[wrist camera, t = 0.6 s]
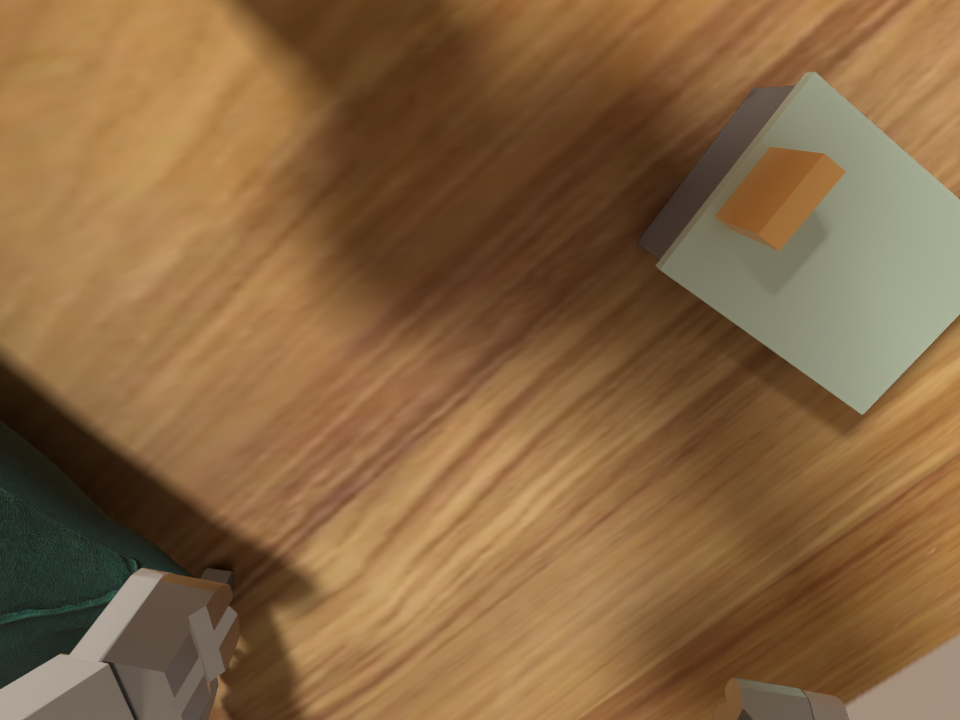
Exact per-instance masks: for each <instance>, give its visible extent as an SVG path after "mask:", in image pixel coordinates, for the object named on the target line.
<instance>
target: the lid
mask: <svg viewBox="0 0 960 720" xmlns="http://www.w3.org/2000/svg"><path fill="white" fill-rule="evenodd" d="M655 267H657V268H658V269H659V270H661V271H662V272H663V273H665V274H666V275H668V276H669V277H670V278H672V279H673V280H674V281H676V282H677V283H679V284H680V285H681V286H683V287H684V288H686V289H687V290H688V291H690V292H691V293H693V294H694V295H695V296H697V297H698V298H700V299H701V300H702V301H704V302H705V303H707V304H708V305H709V306H711V307H712V308H714V309H715V310H716V311H718V312H719V313H721V314H722V315H723V316H725V317H726V318H728V319H729V320H730V321H732V322H733V323H734V324H736V325H737V326H739V327H740V328H741V329H743V330H744V331H746V332H747V333H748V334H750V335H751V336H753V337H754V338H755V339H757V340H758V341H760V342H761V343H762V344H764V345H765V346H767V347H768V348H769V349H771V350H772V351H774V352H775V353H776V354H778V355H779V356H781V357H782V358H783V359H785V360H786V361H788V362H789V363H790V364H792V365H793V366H795V367H796V368H797V369H799V370H800V371H801V372H803V373H804V374H806V375H807V376H808V377H810V378H811V379H813V380H814V381H815V382H817V383H818V384H820V385H821V386H822V387H824V388H825V389H827V390H828V391H829V392H831V393H832V394H834V395H835V396H836V397H838V398H839V399H841V400H842V401H843V402H845V403H846V404H848V405H849V406H850V407H852V408H853V409H855V410H856V411H857V412H859V413H860V414H861V415H863V414H864V413H865V412H866V411H867V410H868V409H869V408H870V407H871V406H872V405H873V404H874V403H875V402H876V401H877V400H878V399H879V397H880V396H881V395H882V394H883V393H884V392H885V391H886V390H887V389H888V388H889V387H890V386H891V385H892V384H893V383H894V382H895V381H896V380H897V379H898V378H899V377H900V376H901V375H902V374H903V373H904V372H905V371H906V369H907V368H908V367H909V366H910V365H911V364H912V363H913V362H914V361H915V360H916V359H917V358H918V357H919V356H920V355H921V354H922V353H923V352H924V351H925V350H926V349H927V348H928V347H929V346H930V345H931V344H932V343H933V342H934V340H935V339H936V338H937V337H938V336H939V335H940V334H941V333H942V332H943V331H944V330H945V329H946V328H947V327H948V326H949V325H950V324H951V323H952V322H953V321H954V320H955V319H956V318H957V317H958V316H959V315H960V199H958V198H957V197H956V196H955V195H954V194H953V193H952V192H950V191H949V190H948V189H947V188H946V187H945V186H944V185H943V184H941V183H940V182H939V181H938V180H937V179H936V178H935V177H934V176H932V175H931V174H930V173H929V172H928V171H927V170H926V169H924V168H923V167H922V166H921V165H920V164H919V163H918V162H917V161H915V160H914V159H913V158H912V157H911V156H910V155H909V154H908V153H906V152H905V151H904V150H903V149H902V148H901V147H900V146H898V145H897V144H896V143H895V142H894V141H893V140H892V139H891V138H889V137H888V136H887V135H886V134H885V133H884V132H883V131H881V130H880V129H879V128H878V127H877V126H876V125H875V124H874V123H872V122H871V121H870V120H869V119H868V118H867V117H866V116H865V115H863V114H862V113H861V112H860V111H859V110H858V109H857V108H855V107H854V106H853V105H852V104H851V103H850V102H849V101H848V100H846V99H845V98H844V97H843V96H842V95H841V94H840V93H839V92H837V91H836V90H835V89H834V88H833V87H832V86H831V85H829V84H828V83H827V82H826V81H825V80H824V79H823V78H822V77H820V76H819V75H818V74H817V73H816V72H806V73H805V74H804V76H803V77H802V78H801V79H800V81H799V82H798V83H797V84H796V86H795V87H794V88H793V90H792V91H791V92H790V93H789V95H788V96H787V97H786V99H785V100H784V101H783V102H782V104H781V105H780V106H779V108H778V109H777V110H776V111H775V113H774V114H773V115H772V117H771V118H770V119H769V120H768V122H767V123H766V124H765V126H764V127H763V128H762V129H761V131H760V132H759V133H758V135H757V136H756V137H755V138H754V140H753V141H752V142H751V144H750V145H749V146H748V147H747V149H746V150H745V151H744V153H743V154H742V155H741V156H740V158H739V159H738V160H737V162H736V163H735V164H734V165H733V167H732V168H731V169H730V171H729V172H728V173H727V174H726V176H725V177H724V178H723V180H722V181H721V182H720V183H719V185H718V186H717V187H716V189H715V190H714V191H713V192H712V194H711V195H710V196H709V198H708V199H707V200H706V201H705V203H704V204H703V205H702V206H701V208H700V209H699V210H698V212H697V213H696V214H695V215H694V217H693V218H692V219H691V221H690V222H689V223H688V224H687V226H686V227H685V228H684V230H683V231H682V232H681V233H680V235H679V236H678V237H677V239H676V240H675V241H674V242H673V244H672V245H671V246H670V248H669V249H668V250H667V251H666V253H665V254H664V255H663V257H662V258H661V259H660V260H659V262H658V263H657V264H656V266H655Z"/></svg>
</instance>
